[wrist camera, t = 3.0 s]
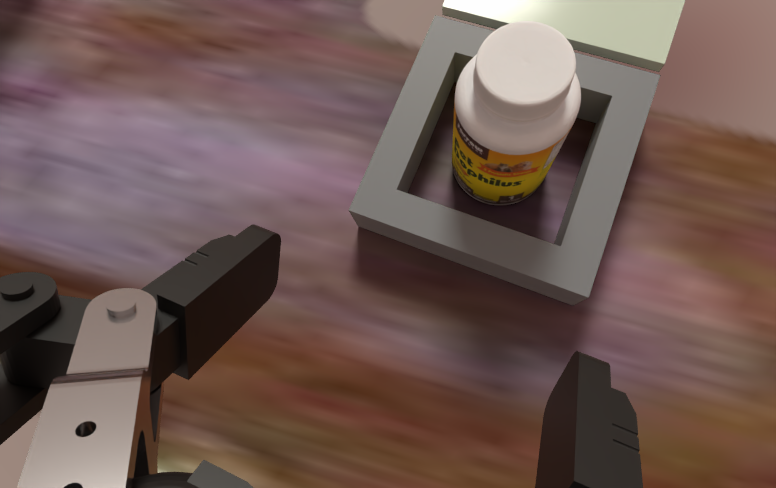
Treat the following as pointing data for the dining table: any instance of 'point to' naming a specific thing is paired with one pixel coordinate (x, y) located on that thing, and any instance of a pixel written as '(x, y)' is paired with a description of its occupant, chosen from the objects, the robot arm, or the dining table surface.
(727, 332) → the dining table surface
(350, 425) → the dining table surface
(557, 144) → the supplement bottle
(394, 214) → the post collar
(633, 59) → the coaster
